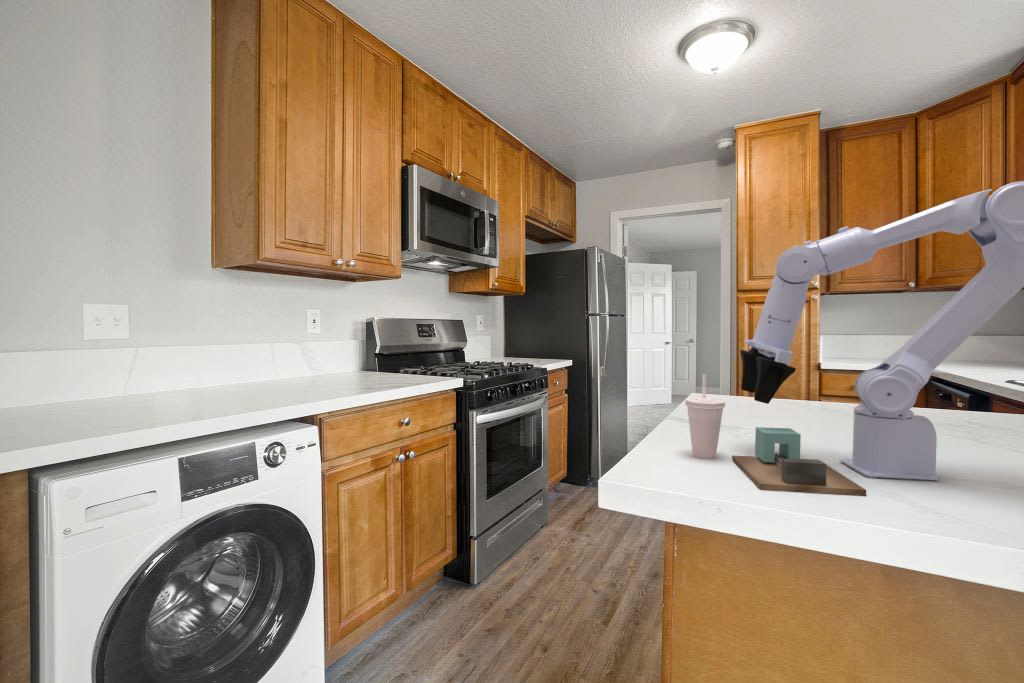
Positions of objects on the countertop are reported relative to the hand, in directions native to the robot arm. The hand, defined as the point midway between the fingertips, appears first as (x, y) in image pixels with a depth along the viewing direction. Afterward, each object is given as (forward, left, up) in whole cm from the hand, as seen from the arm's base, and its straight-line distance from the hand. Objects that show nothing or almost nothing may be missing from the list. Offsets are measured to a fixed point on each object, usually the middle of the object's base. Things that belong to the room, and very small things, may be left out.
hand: (754, 396), depth 81 cm
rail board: (-2, +11, -10) cm, 15 cm away
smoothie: (+8, +2, -10) cm, 14 cm away
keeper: (-2, +6, -9) cm, 11 cm away
